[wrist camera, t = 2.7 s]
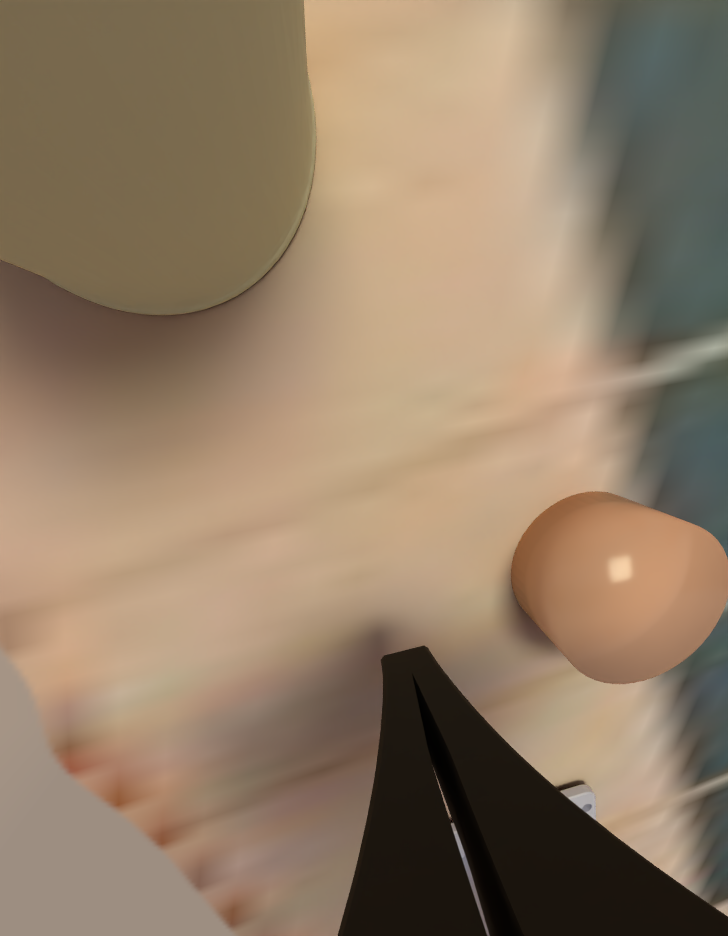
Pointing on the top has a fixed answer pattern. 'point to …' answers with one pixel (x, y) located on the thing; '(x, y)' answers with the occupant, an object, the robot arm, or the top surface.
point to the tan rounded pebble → (620, 585)
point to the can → (153, 146)
